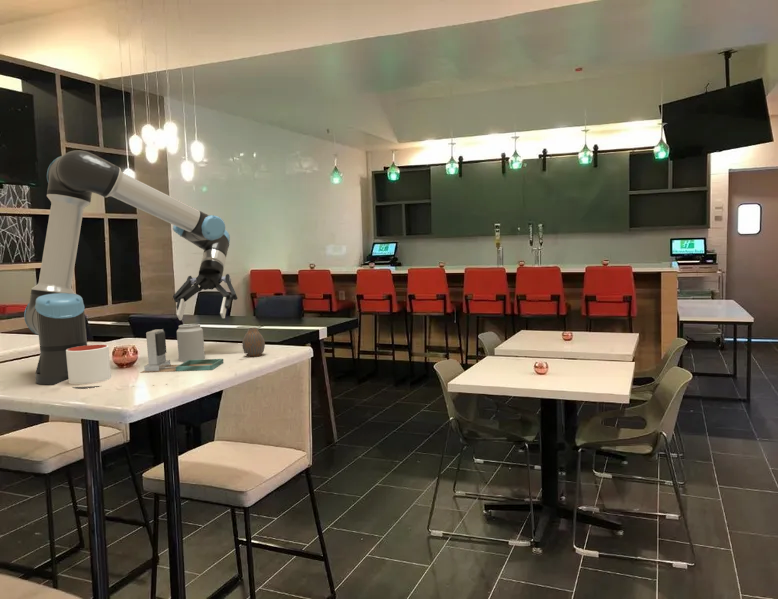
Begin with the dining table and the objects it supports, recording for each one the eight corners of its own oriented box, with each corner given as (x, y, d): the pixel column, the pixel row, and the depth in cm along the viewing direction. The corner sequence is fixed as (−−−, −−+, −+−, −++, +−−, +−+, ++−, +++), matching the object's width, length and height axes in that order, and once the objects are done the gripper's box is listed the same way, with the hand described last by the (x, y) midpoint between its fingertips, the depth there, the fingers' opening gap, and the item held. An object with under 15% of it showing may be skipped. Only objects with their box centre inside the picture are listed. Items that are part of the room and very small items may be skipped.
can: (174, 365, 187) (171, 325, 186) (196, 361, 193) (193, 322, 192) (188, 367, 182) (184, 326, 181) (210, 363, 188) (207, 323, 187)
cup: (81, 391, 157) (77, 352, 156) (62, 387, 163) (58, 349, 162) (119, 383, 165) (115, 345, 164) (99, 379, 171) (96, 343, 170)
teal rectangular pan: (140, 378, 170) (139, 368, 170) (155, 370, 180) (154, 361, 180) (212, 375, 169) (211, 365, 169) (223, 367, 179) (223, 358, 179)
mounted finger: (144, 371, 171) (141, 333, 170) (156, 366, 179) (153, 329, 178) (159, 371, 171) (156, 332, 170) (170, 365, 179) (167, 328, 178)
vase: (258, 357, 194) (257, 329, 193) (239, 357, 196) (237, 329, 195) (269, 353, 200) (267, 326, 200) (249, 353, 202) (248, 326, 202)
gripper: (251, 272, 211) (243, 322, 198) (178, 275, 212) (165, 325, 199) (246, 257, 205) (237, 307, 192) (171, 260, 206) (157, 310, 193)
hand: (200, 316), depth 195 cm, fingers open, 13 cm apart
